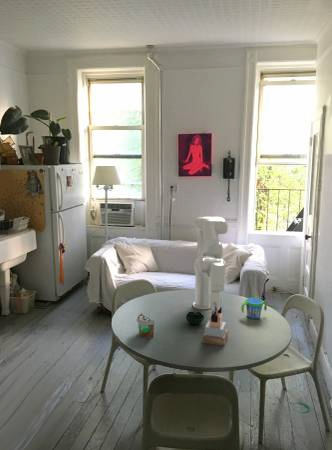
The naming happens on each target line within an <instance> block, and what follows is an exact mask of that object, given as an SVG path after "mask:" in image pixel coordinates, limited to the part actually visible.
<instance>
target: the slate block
mask: <svg viewBox="0 0 332 450" xmlns="http://www.w3.org/2000/svg"><path fill="white" fill-rule="evenodd" d="M204 327H205V328H204V330H205V331H204V332H205V335H208V336H215V337H221V338H222V337H223V335H224V333H225V331H226V329H227V322H226V321H222V325H221V327H220V328H219V327H211V326H210V319H209V320H208V321H207V323H206V325H205V326H204Z"/></svg>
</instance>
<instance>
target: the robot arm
mask: <svg viewBox="0 0 332 450" xmlns="http://www.w3.org/2000/svg"><path fill="white" fill-rule="evenodd" d="M193 221H194V222H193V226H194V229H195V232H196V238H197V239H196V253H197V258H196V259H195V260H194V262H193V267H194V268H193V269H194V275H195V278H194V279H195V280H194V281H195V284H194V289H195V292H194V293H195V296H194V301H193V302H192V307H193V308H194V309H197V310H209V309H210V310H211V313H210V315H211V322H216V323H217V322H218V315H217V313H222V314H223V312H222V310H223V309H222V306H223V297H224V293H223V292H224V291H225V287H226V281H225V280H226V267H227V263H226V261H225V260H224V259H223V258H224V256H223V253H224V248H223V244H222V243H221V242H220V238H219V235H225V234H227V232H228V231H229V230H228V228H229V226H228V223H227V220H226V219H225V218H224V217H222V216H198V217H196V218H195V219H194V220H193Z"/></svg>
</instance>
